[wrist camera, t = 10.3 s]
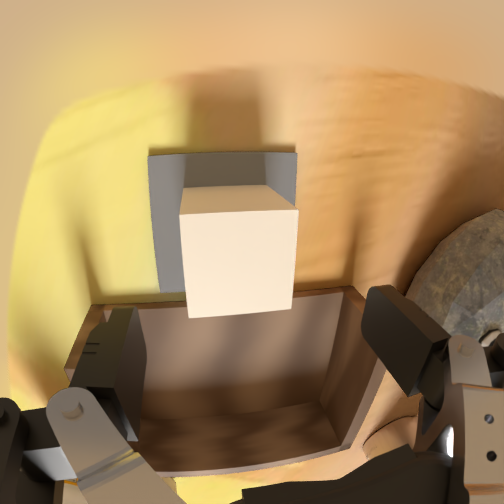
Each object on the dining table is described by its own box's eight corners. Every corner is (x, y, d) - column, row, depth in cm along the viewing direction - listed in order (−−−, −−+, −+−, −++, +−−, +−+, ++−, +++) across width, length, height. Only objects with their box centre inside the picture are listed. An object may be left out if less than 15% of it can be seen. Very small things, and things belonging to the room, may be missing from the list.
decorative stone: (501, 294, 30) (548, 331, 21) (388, 383, 30) (430, 443, 21) (503, 176, 22) (574, 203, 13) (361, 271, 23) (440, 347, 14)
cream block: (266, 185, 18) (298, 209, 13) (264, 259, 20) (291, 308, 15) (183, 187, 17) (179, 214, 12) (188, 264, 19) (188, 318, 14)
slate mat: (295, 152, 18) (297, 153, 18) (287, 280, 22) (289, 283, 21) (148, 155, 16) (147, 156, 16) (160, 290, 20) (160, 292, 20)
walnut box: (352, 285, 23) (398, 335, 17) (325, 399, 28) (349, 448, 22) (91, 304, 19) (63, 368, 13) (133, 419, 25) (129, 475, 19)
